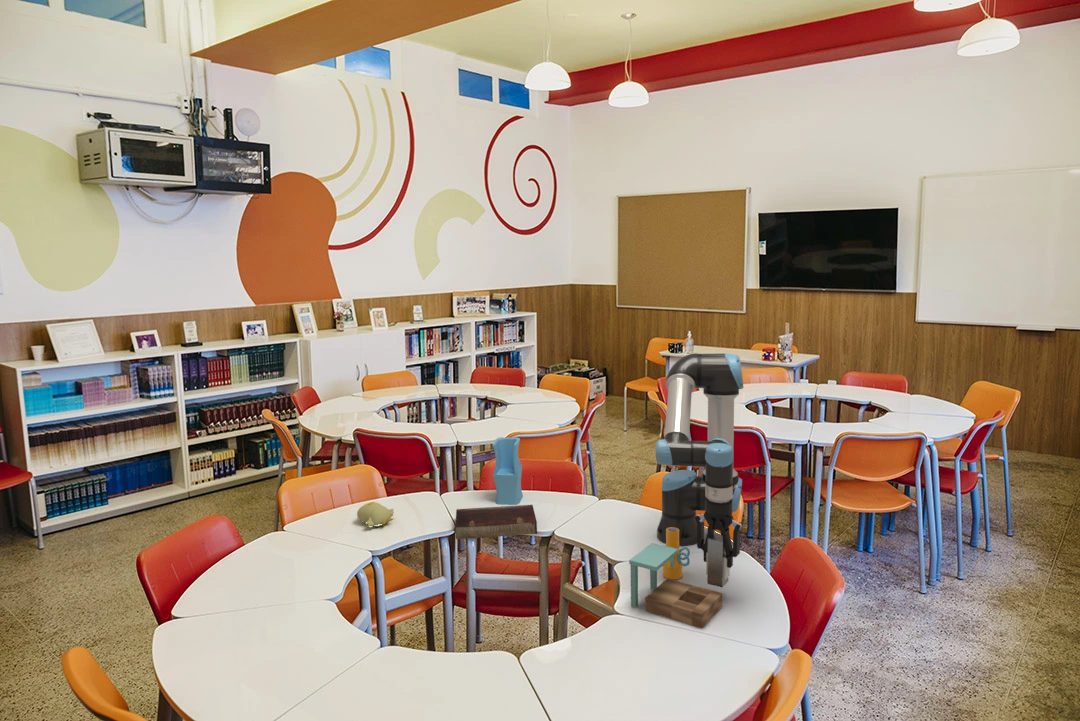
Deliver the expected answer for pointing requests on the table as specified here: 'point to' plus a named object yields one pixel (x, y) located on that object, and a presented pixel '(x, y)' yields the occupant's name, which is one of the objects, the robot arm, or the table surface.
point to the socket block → (684, 602)
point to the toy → (374, 514)
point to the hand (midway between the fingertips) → (717, 574)
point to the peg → (716, 561)
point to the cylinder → (675, 564)
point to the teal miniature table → (649, 566)
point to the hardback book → (495, 521)
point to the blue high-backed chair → (507, 471)
